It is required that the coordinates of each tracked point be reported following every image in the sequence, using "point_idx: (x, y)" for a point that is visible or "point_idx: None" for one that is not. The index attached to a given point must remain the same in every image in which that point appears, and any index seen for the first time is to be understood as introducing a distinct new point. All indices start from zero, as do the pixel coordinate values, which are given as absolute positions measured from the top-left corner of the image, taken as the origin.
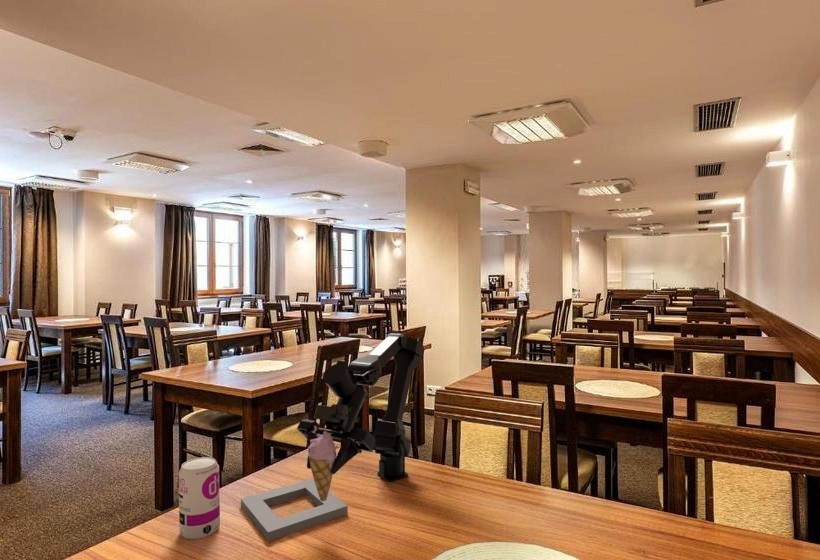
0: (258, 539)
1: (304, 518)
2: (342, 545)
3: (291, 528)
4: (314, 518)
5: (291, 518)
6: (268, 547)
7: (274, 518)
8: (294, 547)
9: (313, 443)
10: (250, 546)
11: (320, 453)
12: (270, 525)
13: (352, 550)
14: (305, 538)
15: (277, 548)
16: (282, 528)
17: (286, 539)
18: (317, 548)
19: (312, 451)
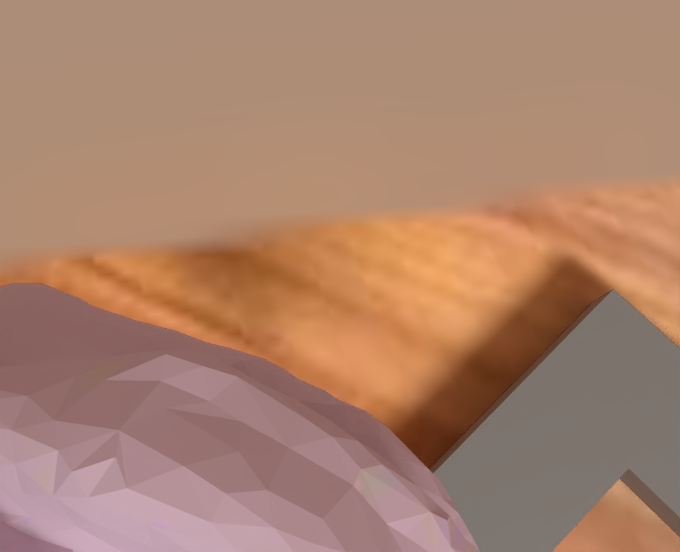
0: (664, 318)
1: (447, 492)
2: (156, 319)
3: (499, 401)
4: None
5: (540, 479)
6: (560, 249)
7: (665, 466)
8: (415, 267)
9: (208, 465)
10: (668, 245)
11: (33, 302)
12: (641, 368)
13: (95, 280)
14: (387, 362)
15: (505, 246)
16: (545, 356)
17: (496, 338)
18: (285, 274)
19: None
